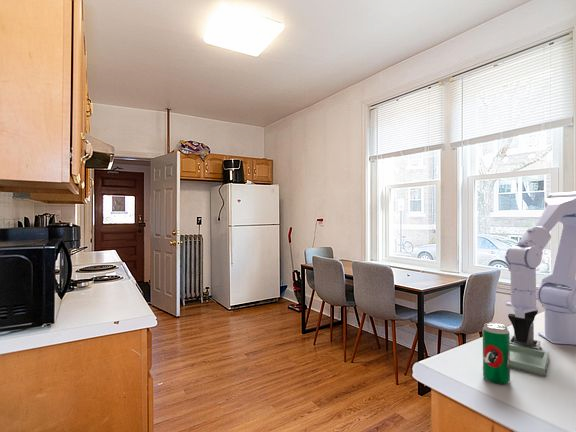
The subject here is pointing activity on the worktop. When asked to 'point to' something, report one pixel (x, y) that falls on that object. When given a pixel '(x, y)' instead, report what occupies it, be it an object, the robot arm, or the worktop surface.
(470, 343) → the worktop surface
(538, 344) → the collar
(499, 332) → the soda can
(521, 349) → the tray
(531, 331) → the cylinder
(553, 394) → the worktop surface
